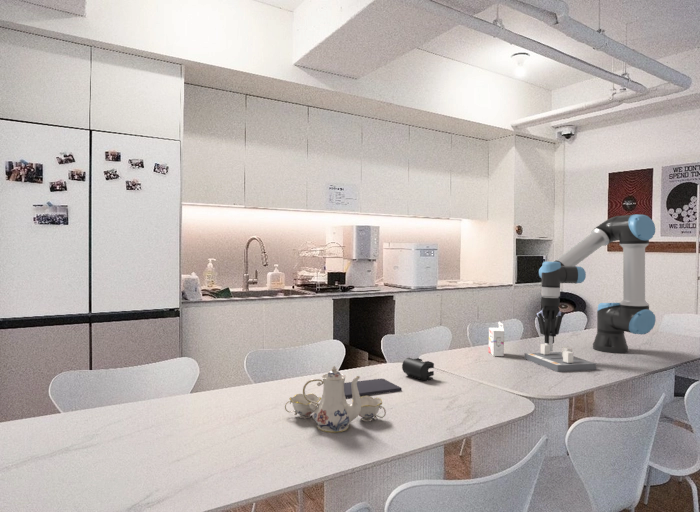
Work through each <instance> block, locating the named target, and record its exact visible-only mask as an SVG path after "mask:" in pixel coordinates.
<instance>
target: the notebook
mask: <svg viewBox="0 0 700 512" xmlns="http://www.w3.org/2000/svg"><path fill="white" fill-rule="evenodd" d="M357 388H358V391H359V395H360V397H362V396H373V395H381V394H389V393H396V392H402V387H401V386H398V385H396V384H395V383H392V382H391V381H389V380H387V379H385V378H373V379H367V380H365V379H364V380H359V381H357ZM344 393H345V398H346V399H350V398H351V399H353V397H352V381H348V382H347V381H346V382H344Z"/></svg>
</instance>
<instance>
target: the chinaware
mask: <svg viewBox="0 0 700 512" xmlns="http://www.w3.org/2000/svg"><path fill="white" fill-rule="evenodd" d="M330 369H331V370H329V371H328V372H327V373H325V374H322V375H321V378H322V379H320V378H312V379H309V380H308V381H306V382H305V383H304V385H303V388H302V393H296V394H294V395H293V396H292V397H289V401H286V403H285V404H284V410H285V412H287V413H293V412H294V416H297V415H299V419H300V418H301V419H304V420H305V419H309V418H311V415H312V419H313V420H314V422H315V423H316V424H317V425H316V428H317V429H318V430H320V431H321V432H326V433H343V432H344V431H347V430H348V429H349V427H350V426H349V424H351V422H353V421H355V420H356V419H357V418H358V417H360V420H361V421H363V422H371V421H373V420H377V419H378V418H380V419H383V418H384V417H386V413H387V411H386V408H385V407H384V406H382V405H383V401H382V399H381V397H374V398H373V397H372V396H371V395H367V396H360V395H359V391H358V388H357V381H358V380H360V379H361V376H360V375H358V376H355V377H354V378H353V379H352V380H351V382H352V397H353V398H351V401H352V402H351V403H348V402H347V398H345V393H344V383H345V382H346V381H345V380H346V377H347V376H346V375H345V374H342V373H341V372H340V371H339V370H338V368H336V366H335V365H334V366H332V368H330ZM312 382H317V383H316V385H317V386H318V387H320V386H322V385H323V386H322V387H323V388H322V394H321V396H318V395H316V394H315V393H308V394H306V387H308V385H309V384H310V383H312ZM288 403H289V404H290V405H291V404H292V407H293V410H291V411H290V410H288V409H287V404H288ZM381 409H382V410H383V411H384V412H383V413H384V415H382V416H380V415H377V414H378V413H379V411H380V410H381Z"/></svg>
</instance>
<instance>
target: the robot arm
mask: <svg viewBox="0 0 700 512" xmlns="http://www.w3.org/2000/svg"><path fill="white" fill-rule="evenodd" d="M655 233H656V225H655V222H654V220H652V218H651V217H650V216H649V215H646V214H637V213H636V214H626V215H625V214H624V215H616V216H613V217H610V218H608V219H606V220H605V221H603V222H601V223H600V224H598V225H597V226H596V227H594V228H592V230H591V233H590V234H589V235H588V236H586V237H585V238H583V239H582V240H580V241H579V242H578V243H577V244H575V245H574V246H572V247H571V248H569V250H567V251H566V252H565V253H563V254H562V255H560V256H559V257H558V258H557V259H555V260H554V261H544V262H542V266H541V267H540V268H539V269H538V276H539V278H541V287H540V288H541V289H540V291H541V293H540V294H541V297H540V305H541V308H540V311H539V312H536V313H535V316H536V317H537V322H538V327H539V333H540V335H543V336H544V344H548V345H550V352H554V351H553V346H554V343H555V337H556V336H558V335H559V333H560V328H561V325H562V320H563V318H564V316H565V313H564V312H562V311H560V305H561V304H560V302H561V300H560V299H561V298H560V297H561V284H582V283H583V282H584V281H585V280H586V276H587V275H586V273H587V272H586V270H585V268H583V267H582V266H578V264H580V263H581V262H583V261H584V260H585V259H587V258H588V257H589V256H591V255H592V254H593V253H595V252H597V250H598V249H600V248H601V247H604V246H608V245H609V244H610V243H614V242H617V241H618V242H619V244H618V245H619V246H620V247H621V248H622V252H623V253H622V254H623V255H622V256H623V257H622V260H623V262H622V263H623V269H622V271H623V272H622V273H623V275H622V276H623V277H622V279H623V280H622V281H623V286H622V289H623V291H622V294H623V295H622V296H623V297H622V298H623V300H622V301H621V302H599V303H598V305H597V313H596V314H597V315H596V317H597V318H596V319H597V322H596V324H597V325H596V326H597V328H596V329H597V330H596V335H595V337H594V341H593V342H592V349H594V350H596V351H599V352H605V353H606V352H607V353H615V354H617V353H618V354H622V353H623V354H625V353H628V352H629V346H628V344H627V339H626V336H625V332H626V333H629V334H630V333H631V334H634V335H646V334H649V333H650V332H651V331H652V330H653V328H654V327H655V325H656V320H657V319H656V315H655V314H654V312H653V311H652V310H650V304H649V303H648V302H647V301H646V248H647V246H649V245H650V240H651V239H653V238H654V235H656V234H655Z"/></svg>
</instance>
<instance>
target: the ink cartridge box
mask: <svg viewBox="0 0 700 512" xmlns="http://www.w3.org/2000/svg"><path fill="white" fill-rule="evenodd" d="M504 352H505V325H504V323H502V322H501V321H498V327H488V354H490V353H491V354H492V355H493V356H505V353H504ZM491 354H490V355H491ZM492 355H491V356H492ZM493 356H492V357H493Z"/></svg>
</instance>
